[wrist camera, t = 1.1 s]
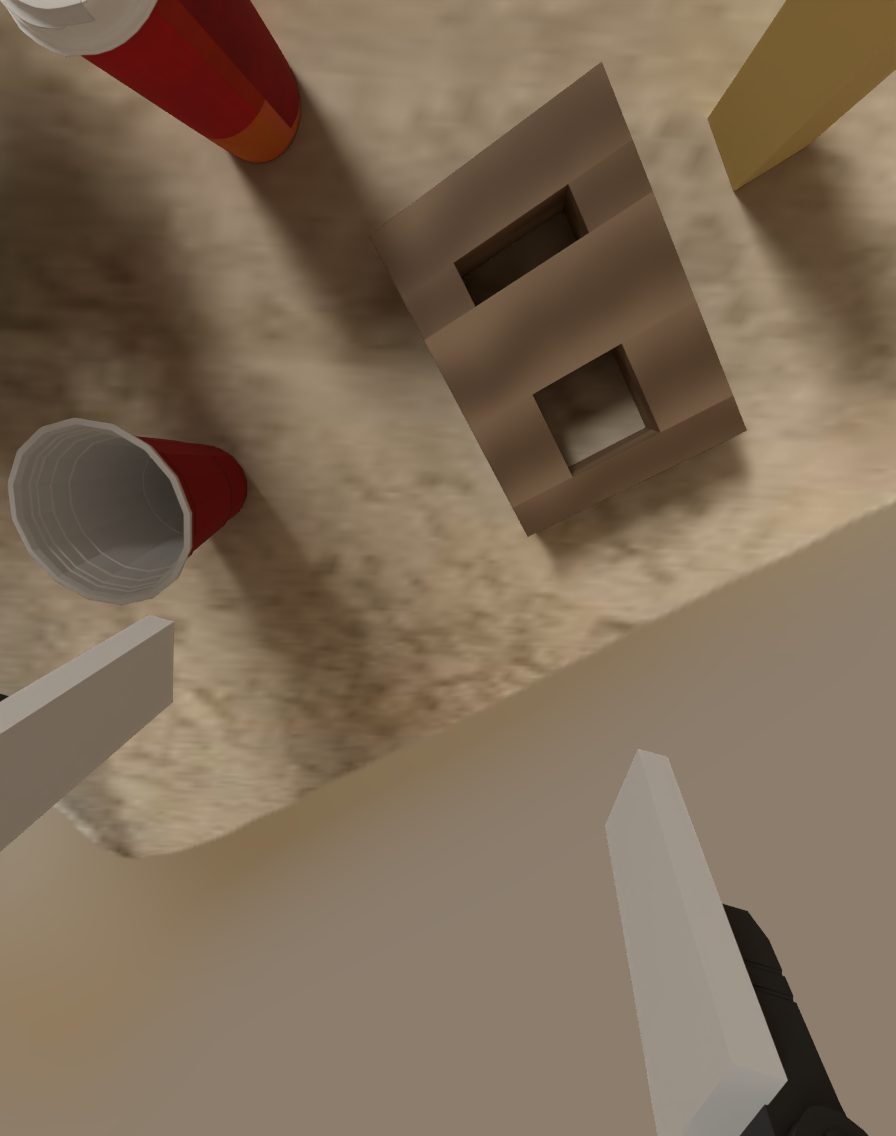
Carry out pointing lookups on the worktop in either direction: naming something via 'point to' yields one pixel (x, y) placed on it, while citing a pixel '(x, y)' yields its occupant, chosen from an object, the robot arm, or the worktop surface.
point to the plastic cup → (118, 506)
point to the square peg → (802, 80)
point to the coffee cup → (182, 62)
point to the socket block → (561, 304)
